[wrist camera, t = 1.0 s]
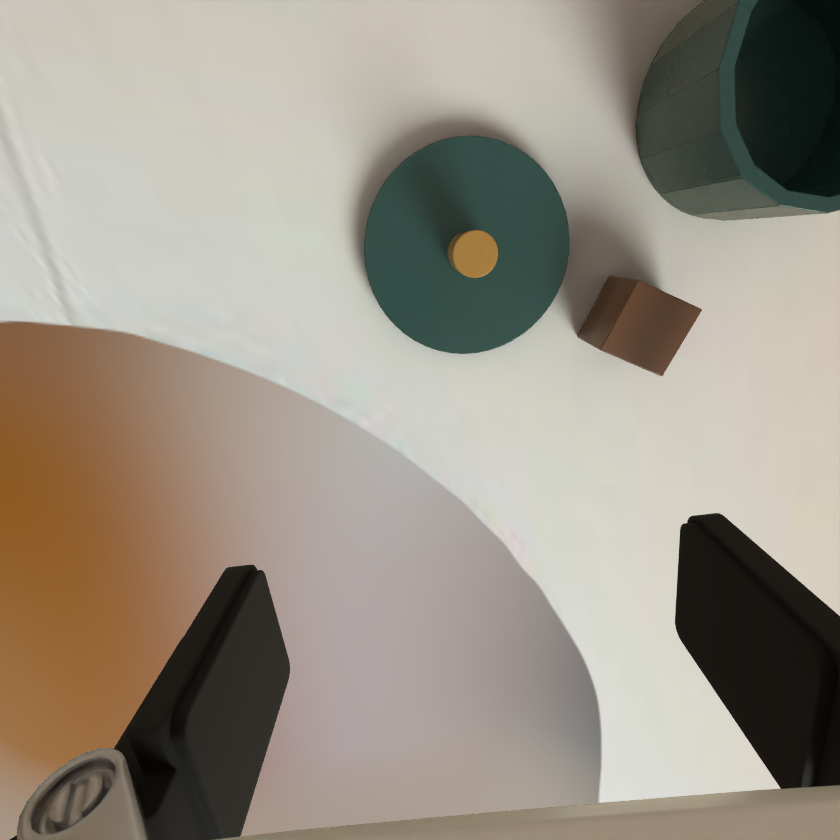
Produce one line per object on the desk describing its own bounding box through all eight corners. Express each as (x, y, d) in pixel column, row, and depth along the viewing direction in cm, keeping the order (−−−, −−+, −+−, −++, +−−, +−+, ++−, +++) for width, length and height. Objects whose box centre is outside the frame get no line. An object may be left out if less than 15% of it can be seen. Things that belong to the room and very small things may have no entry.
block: (576, 336, 38) (600, 349, 33) (608, 275, 36) (638, 279, 31) (631, 360, 38) (662, 376, 34) (665, 301, 37) (702, 309, 32)
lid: (331, 289, 36) (315, 297, 30) (431, 92, 32) (435, 59, 26) (493, 383, 39) (507, 408, 33) (604, 214, 35) (644, 208, 29)
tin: (595, 150, 33) (662, 116, 24) (732, -68, 29) (873, -204, 20) (740, 255, 36) (849, 260, 27) (884, 68, 32) (1068, 0, 23)
